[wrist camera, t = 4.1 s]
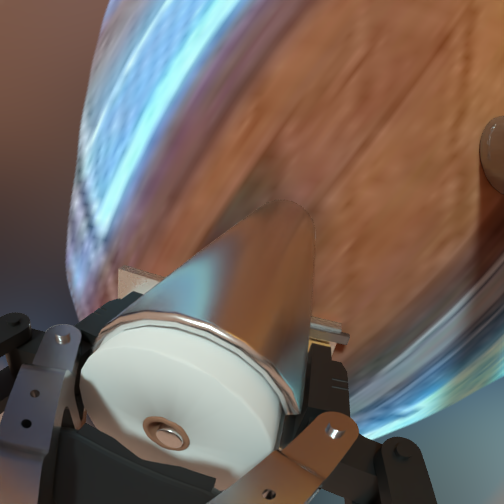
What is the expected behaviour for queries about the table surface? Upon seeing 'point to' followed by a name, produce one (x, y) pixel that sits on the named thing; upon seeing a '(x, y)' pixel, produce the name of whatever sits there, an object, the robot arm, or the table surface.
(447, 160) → the table surface
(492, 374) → the table surface
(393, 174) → the table surface
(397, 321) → the table surface
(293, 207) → the air filter
